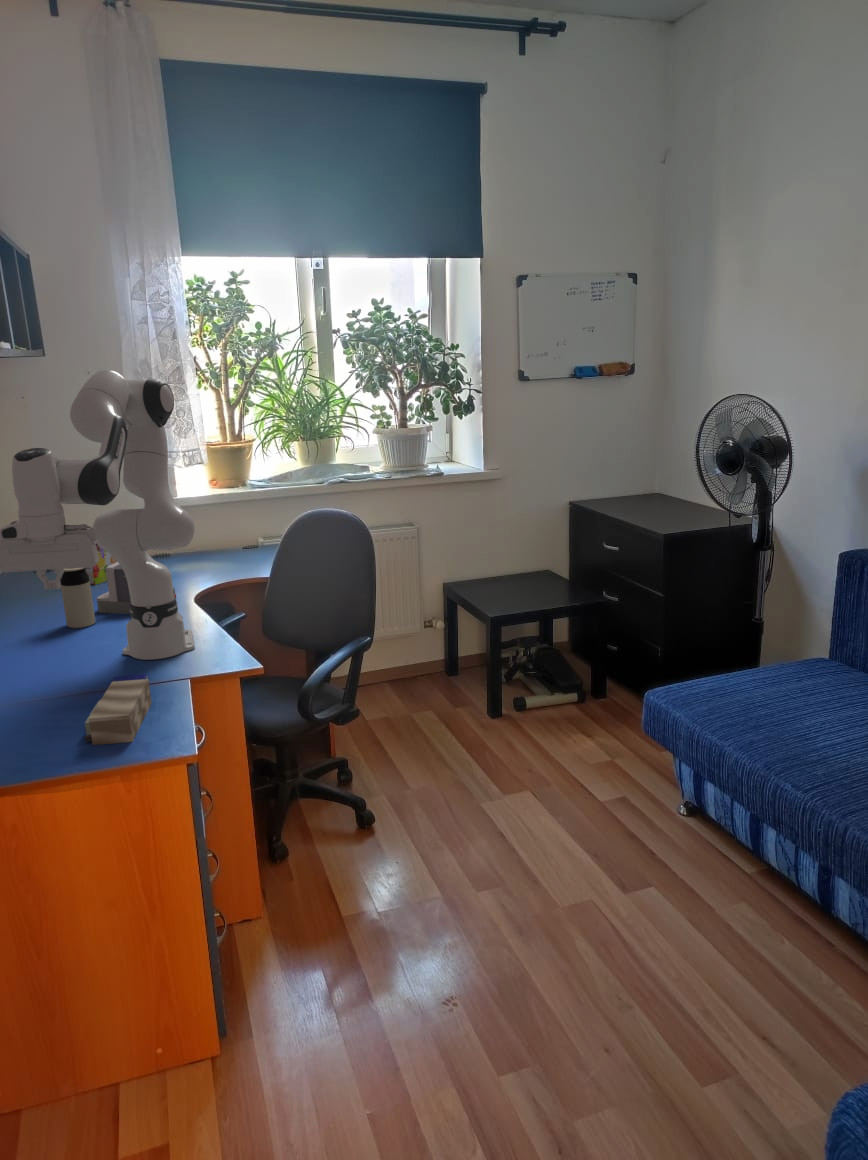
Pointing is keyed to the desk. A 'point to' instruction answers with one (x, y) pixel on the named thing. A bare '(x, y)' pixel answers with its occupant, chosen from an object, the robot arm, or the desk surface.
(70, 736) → the desk surface
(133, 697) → the low shelf
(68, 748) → the desk surface
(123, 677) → the hard drive
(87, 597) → the travel mug
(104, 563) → the snack box
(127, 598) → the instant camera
